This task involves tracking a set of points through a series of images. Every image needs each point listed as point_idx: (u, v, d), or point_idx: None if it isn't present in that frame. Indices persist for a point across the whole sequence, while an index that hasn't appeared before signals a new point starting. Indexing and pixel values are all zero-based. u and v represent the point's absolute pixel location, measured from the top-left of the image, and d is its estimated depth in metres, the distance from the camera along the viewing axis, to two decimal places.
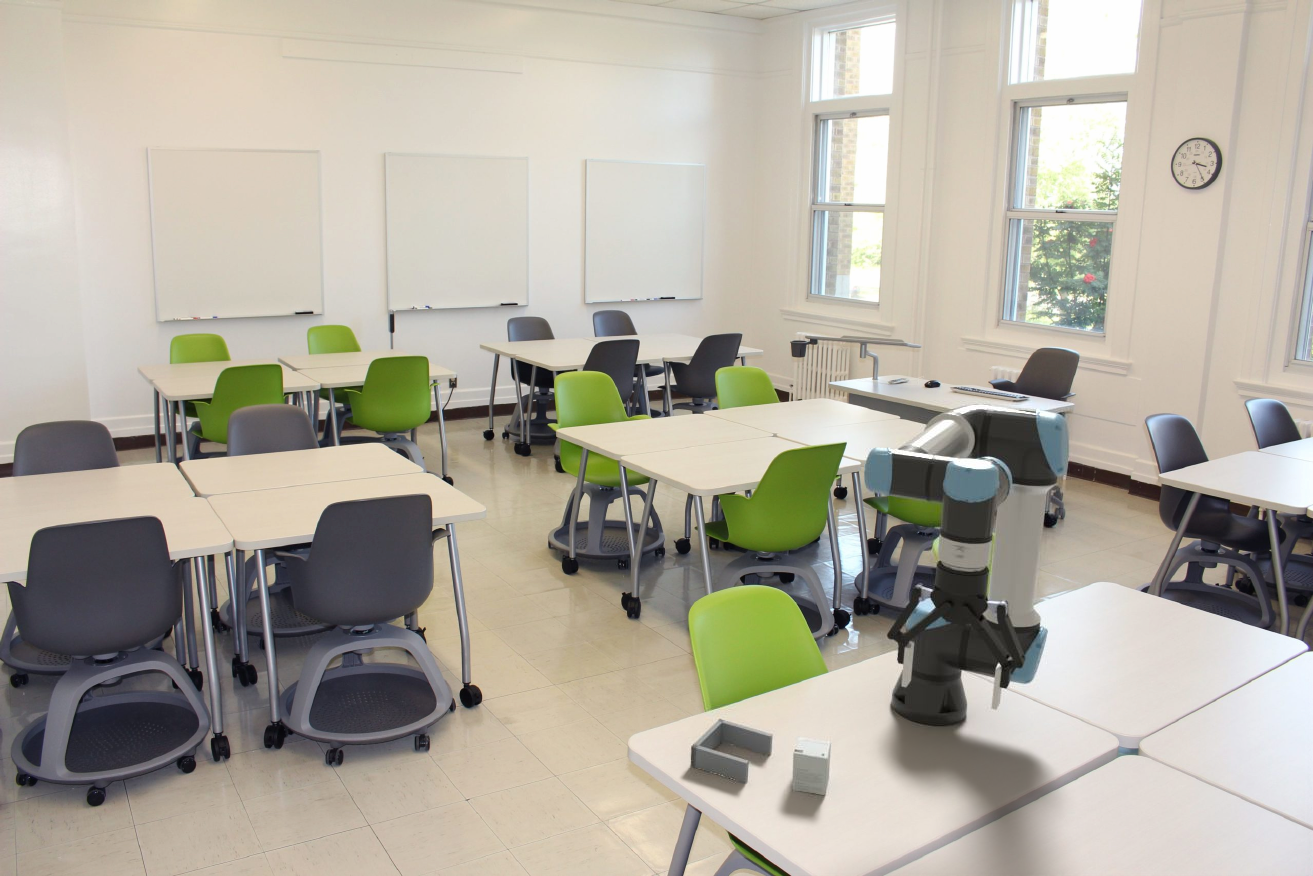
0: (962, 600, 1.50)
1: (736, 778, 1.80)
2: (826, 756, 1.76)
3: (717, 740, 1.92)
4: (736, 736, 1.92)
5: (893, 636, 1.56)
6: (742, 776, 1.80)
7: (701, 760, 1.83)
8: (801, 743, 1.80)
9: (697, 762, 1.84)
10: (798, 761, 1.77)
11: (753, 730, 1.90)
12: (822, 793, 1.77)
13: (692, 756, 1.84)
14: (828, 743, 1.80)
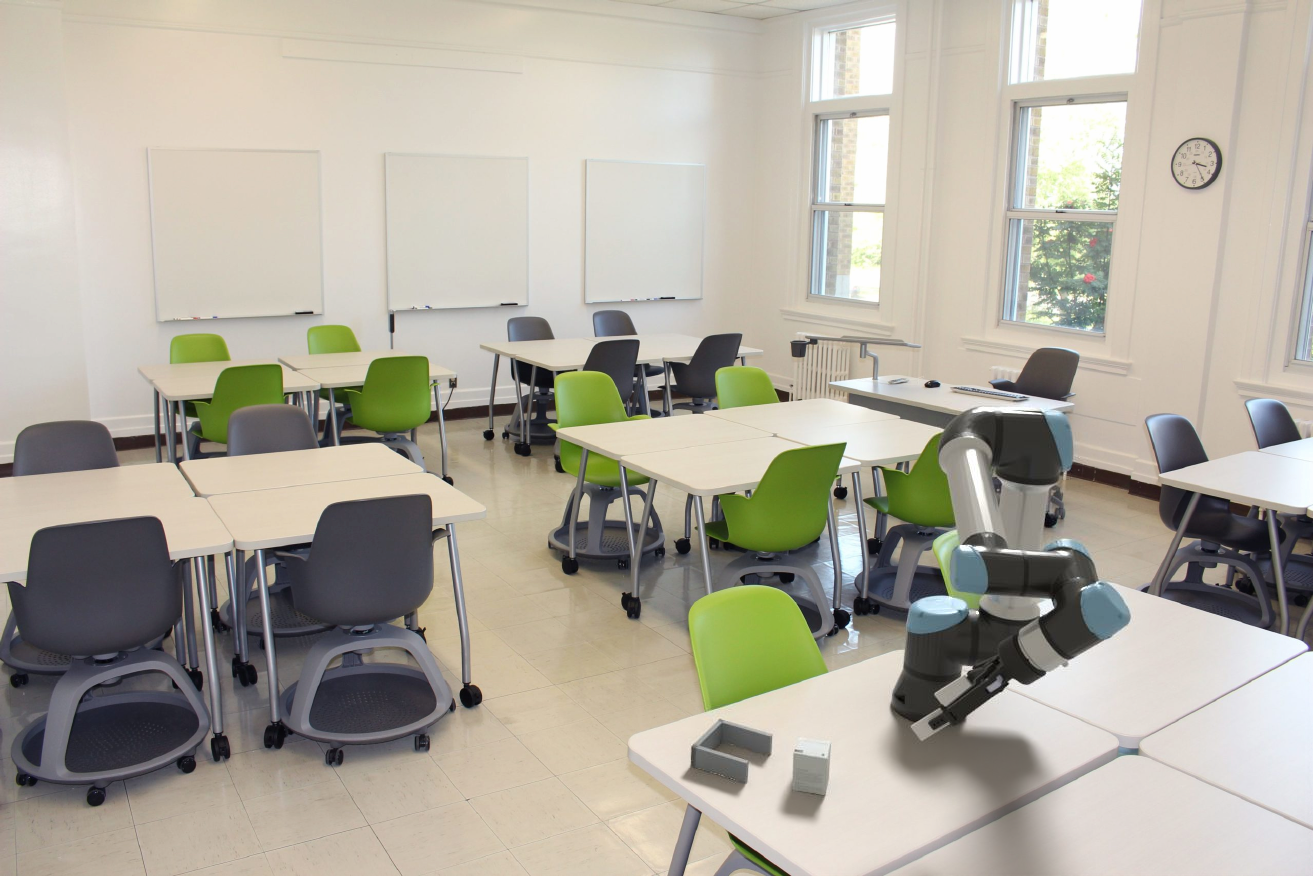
0: None
1: (736, 778, 1.80)
2: (826, 756, 1.76)
3: (717, 740, 1.92)
4: (736, 736, 1.92)
5: None
6: (742, 776, 1.80)
7: (701, 760, 1.83)
8: (801, 743, 1.80)
9: (697, 762, 1.84)
10: (798, 761, 1.77)
11: (753, 730, 1.90)
12: (822, 793, 1.77)
13: (692, 756, 1.84)
14: (828, 743, 1.80)
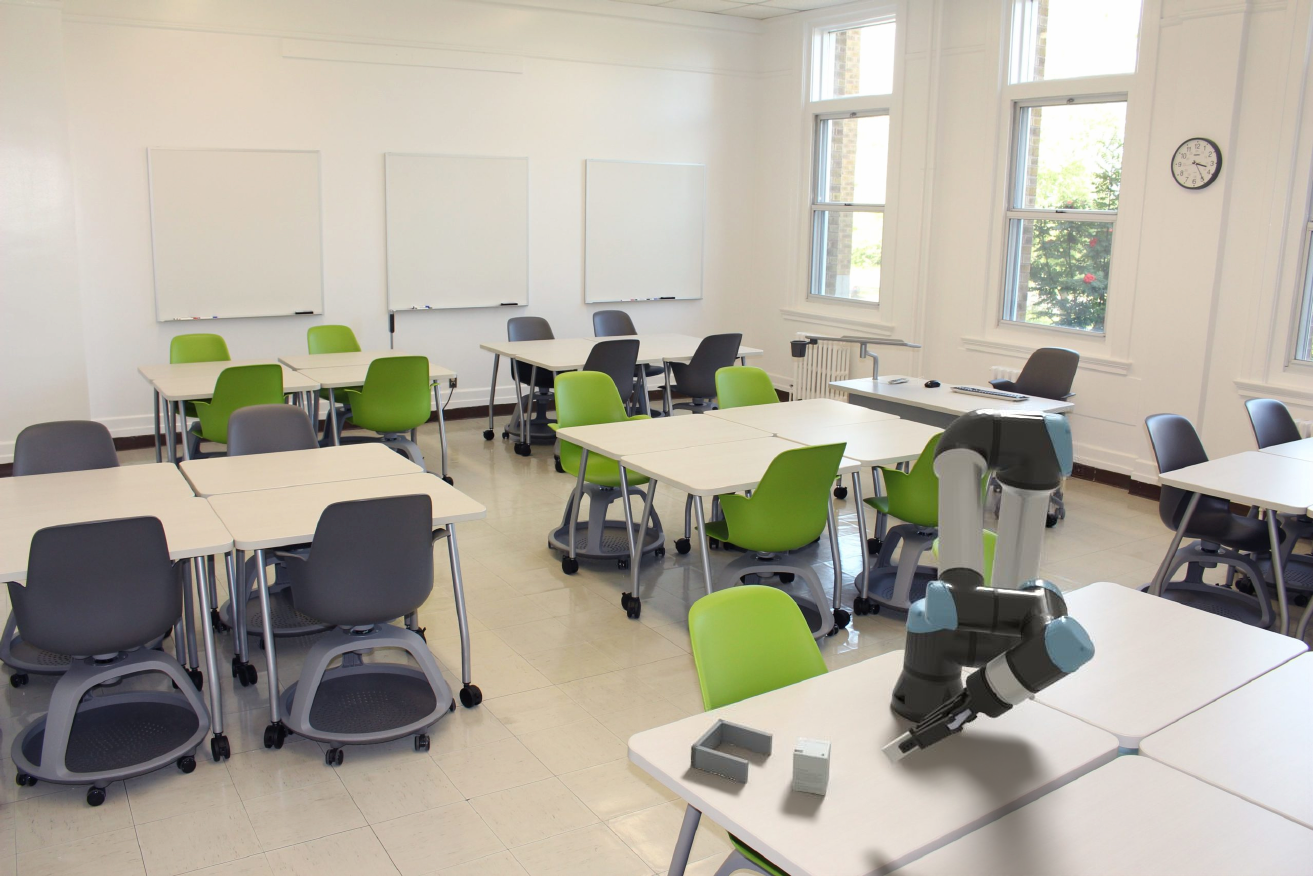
0: None
1: (736, 778, 1.80)
2: (826, 756, 1.76)
3: (717, 740, 1.92)
4: (736, 736, 1.92)
5: None
6: (742, 776, 1.80)
7: (701, 760, 1.83)
8: (801, 743, 1.80)
9: (697, 762, 1.84)
10: (798, 761, 1.77)
11: (753, 730, 1.90)
12: (822, 793, 1.77)
13: (692, 756, 1.84)
14: (828, 743, 1.80)
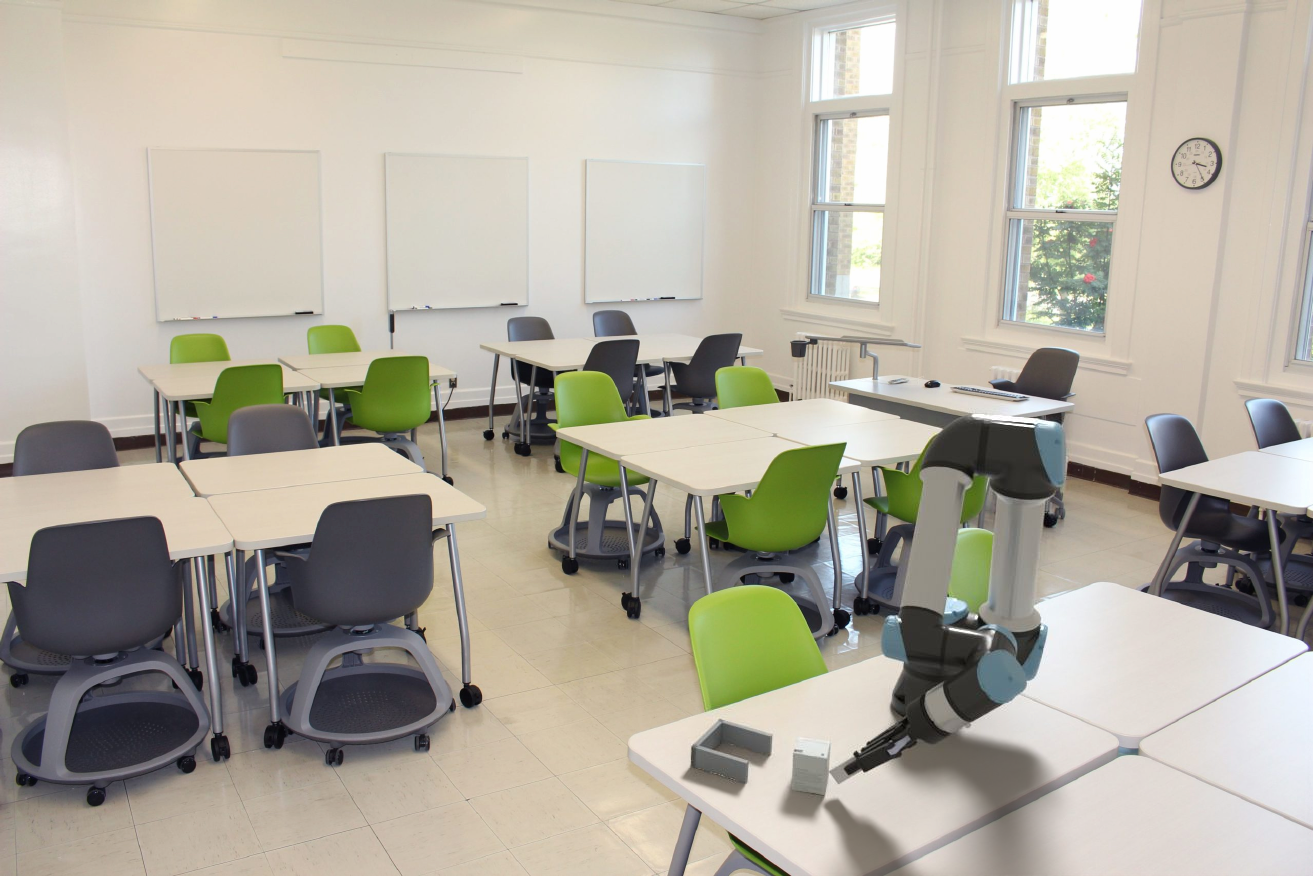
0: None
1: (736, 778, 1.80)
2: (826, 756, 1.76)
3: (717, 740, 1.92)
4: (736, 736, 1.92)
5: None
6: (742, 776, 1.80)
7: (701, 760, 1.83)
8: (800, 743, 1.80)
9: (697, 762, 1.84)
10: (798, 760, 1.77)
11: (753, 730, 1.90)
12: (822, 793, 1.77)
13: (692, 756, 1.84)
14: (828, 743, 1.80)
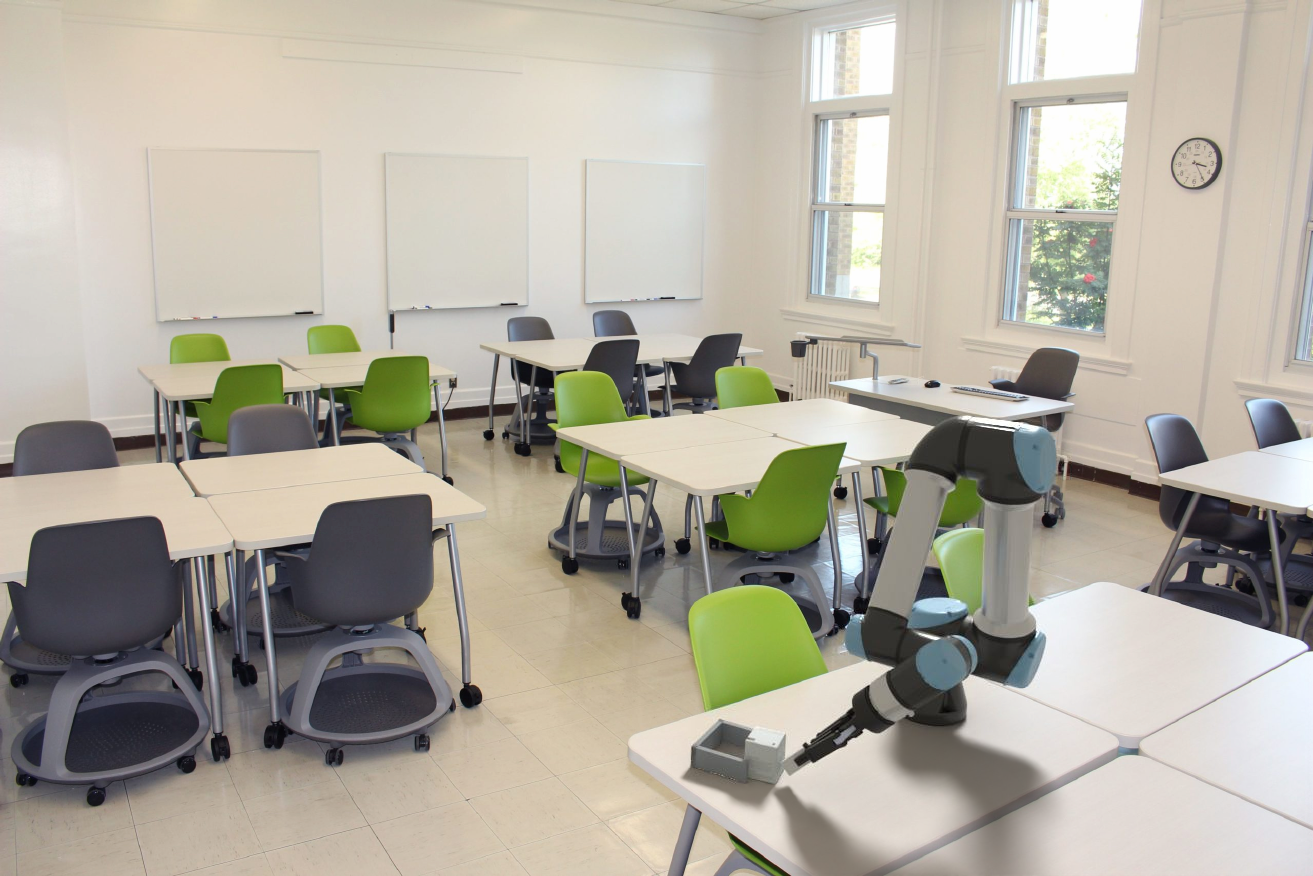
0: None
1: (736, 778, 1.80)
2: (776, 745, 1.79)
3: (717, 740, 1.92)
4: (736, 736, 1.92)
5: None
6: (742, 776, 1.80)
7: (701, 760, 1.83)
8: (755, 732, 1.83)
9: (697, 762, 1.84)
10: (749, 748, 1.80)
11: None
12: (772, 782, 1.80)
13: (692, 756, 1.84)
14: (783, 734, 1.83)
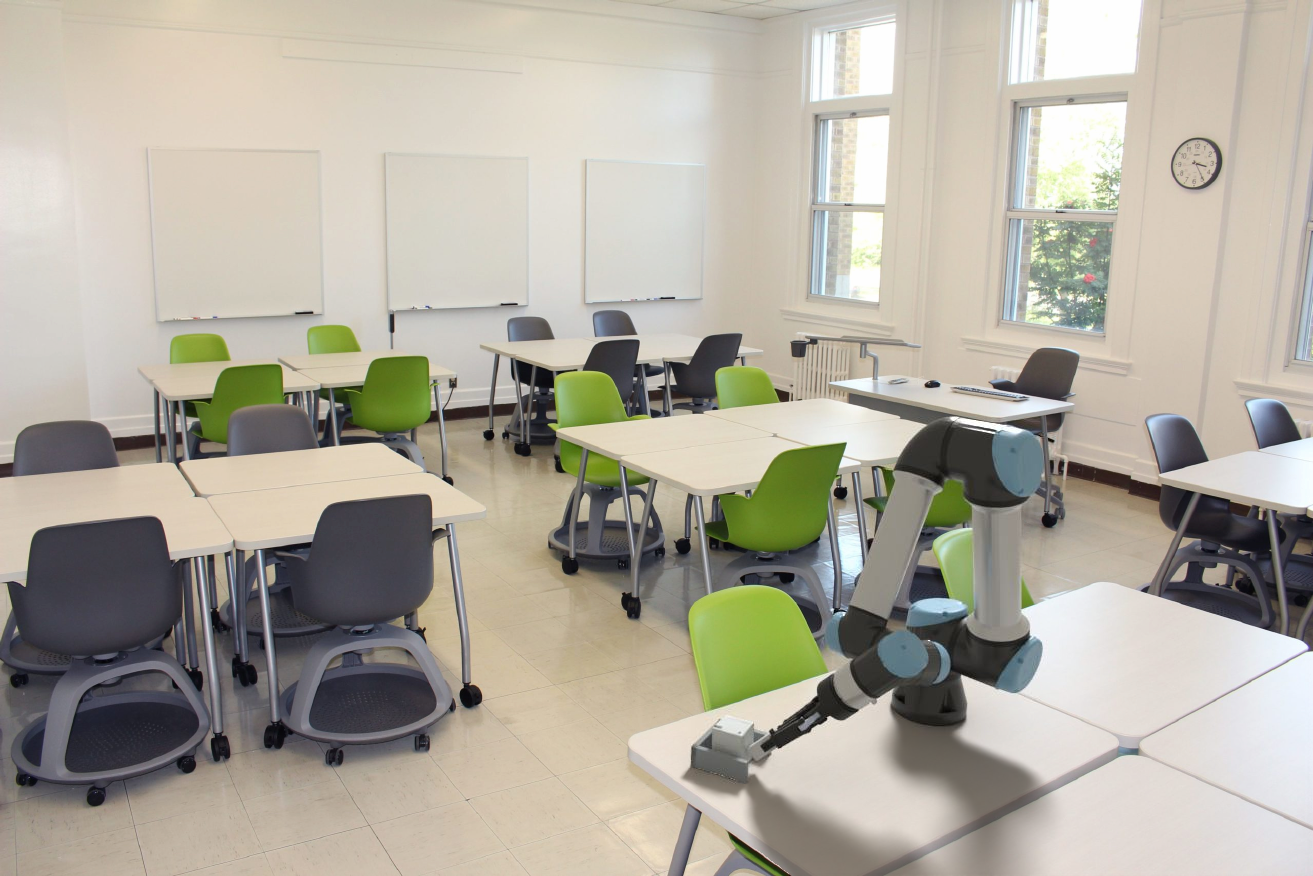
0: None
1: (736, 778, 1.80)
2: (742, 734, 1.82)
3: None
4: None
5: None
6: (742, 776, 1.80)
7: (701, 760, 1.83)
8: (724, 720, 1.87)
9: (697, 762, 1.84)
10: (716, 736, 1.84)
11: None
12: None
13: (692, 756, 1.84)
14: (751, 723, 1.86)
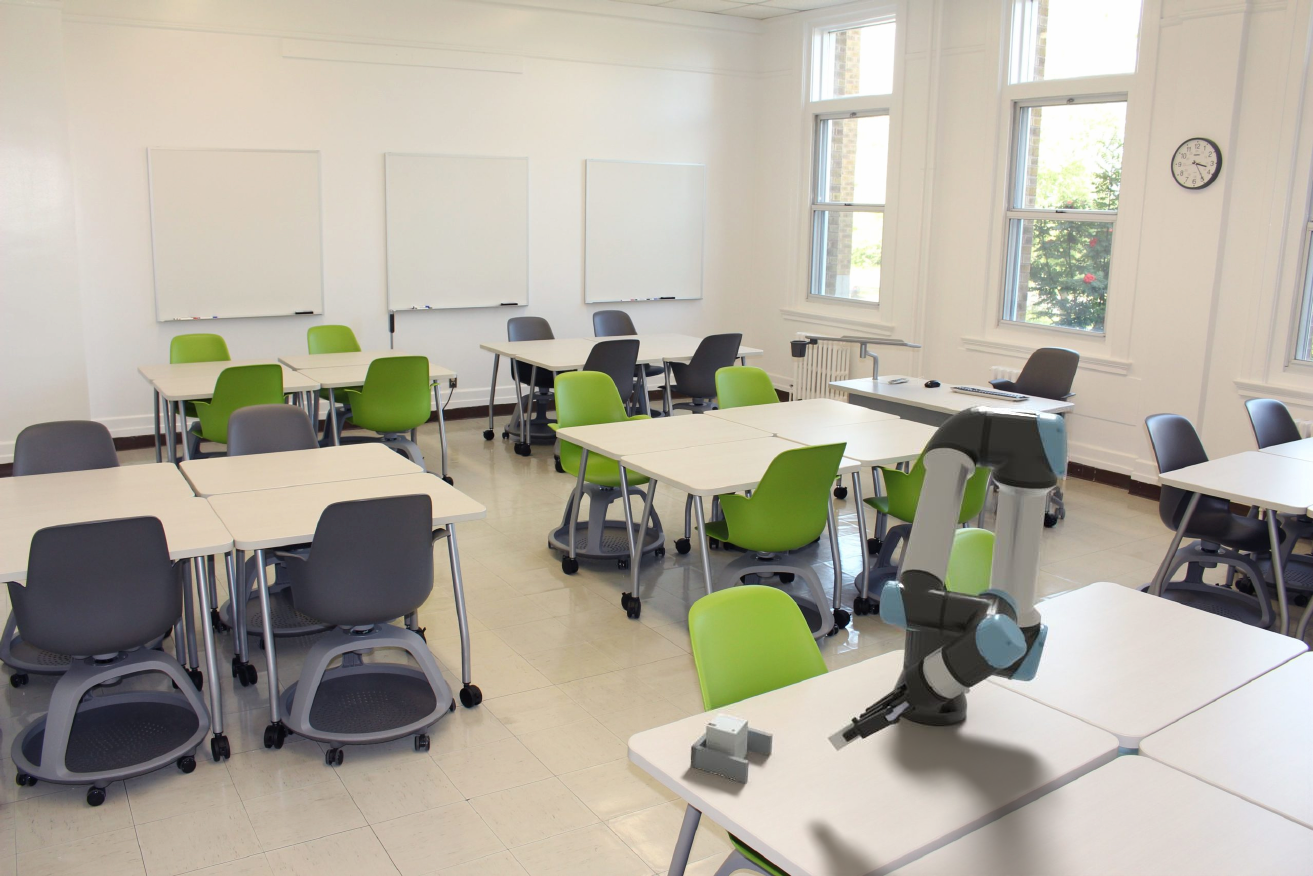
0: None
1: (736, 778, 1.80)
2: (736, 732, 1.83)
3: None
4: None
5: None
6: (742, 776, 1.80)
7: (701, 760, 1.83)
8: (718, 718, 1.88)
9: (697, 762, 1.84)
10: (710, 733, 1.85)
11: (753, 730, 1.90)
12: None
13: (692, 756, 1.84)
14: (744, 721, 1.87)
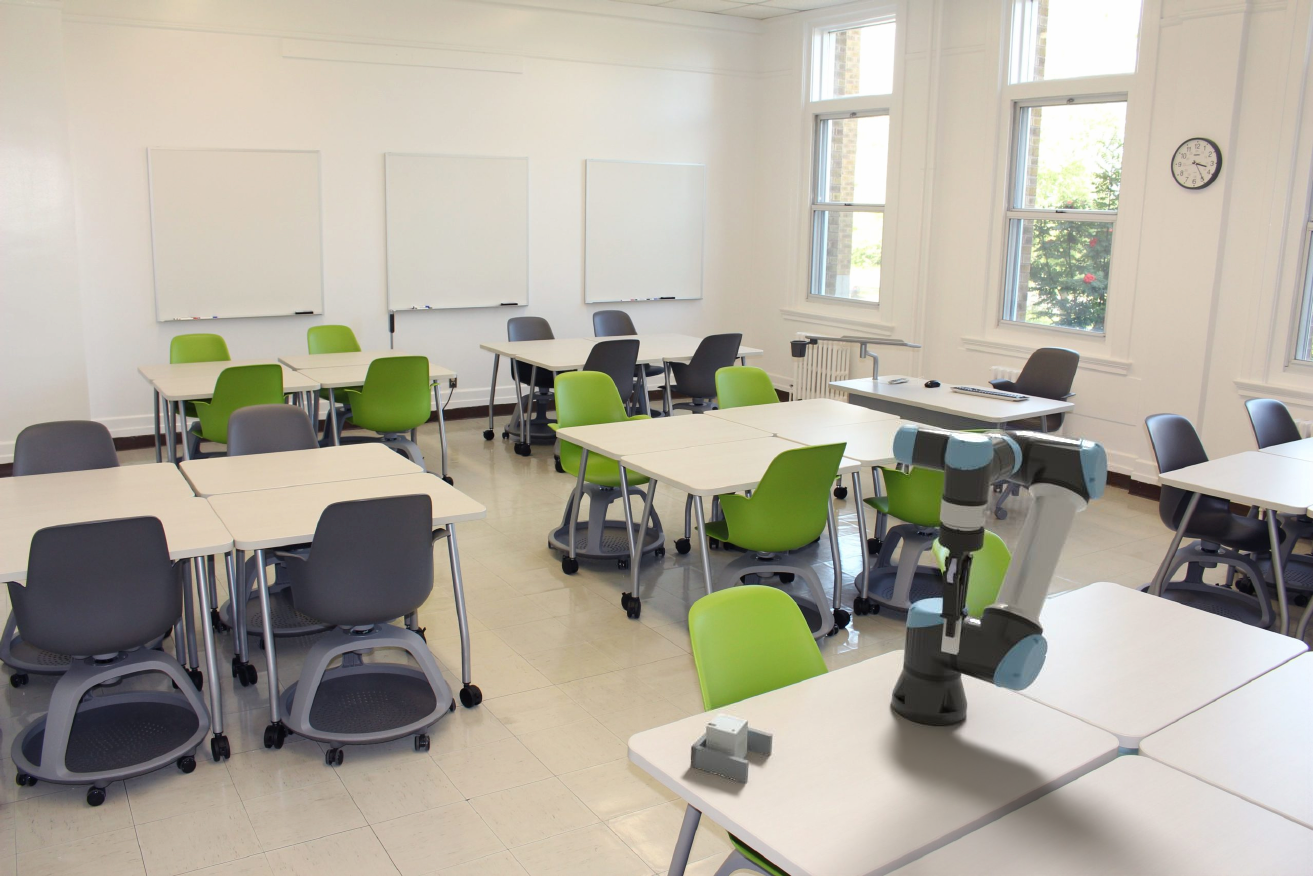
0: None
1: (736, 778, 1.80)
2: (735, 732, 1.83)
3: None
4: None
5: (957, 615, 1.74)
6: (742, 776, 1.80)
7: (701, 760, 1.83)
8: (718, 718, 1.88)
9: (697, 762, 1.84)
10: (710, 733, 1.85)
11: (753, 730, 1.90)
12: None
13: (692, 756, 1.84)
14: (744, 721, 1.87)
